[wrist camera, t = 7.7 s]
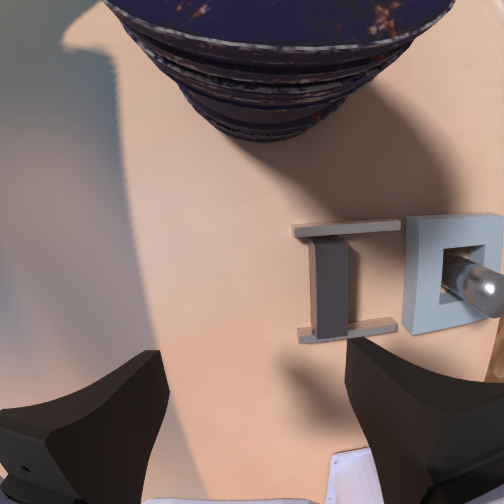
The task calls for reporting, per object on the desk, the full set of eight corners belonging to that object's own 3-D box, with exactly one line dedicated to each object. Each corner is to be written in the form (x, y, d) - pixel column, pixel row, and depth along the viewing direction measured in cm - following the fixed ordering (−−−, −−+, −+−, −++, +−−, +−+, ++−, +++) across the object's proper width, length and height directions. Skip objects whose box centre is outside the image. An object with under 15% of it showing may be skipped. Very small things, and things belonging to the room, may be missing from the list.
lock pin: (462, 279, 21) (513, 308, 15) (437, 290, 21) (485, 324, 15) (459, 248, 21) (513, 270, 14) (432, 258, 21) (484, 286, 15)
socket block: (480, 308, 22) (493, 316, 20) (401, 323, 22) (412, 335, 20) (488, 212, 20) (504, 215, 18) (405, 216, 20) (419, 219, 18)
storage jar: (155, 88, 19) (14, -25, 4) (248, -11, 17) (242, -175, 2) (276, 176, 20) (337, 168, 5) (366, 69, 18) (502, -47, 4)
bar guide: (389, 324, 22) (395, 331, 21) (297, 336, 22) (299, 344, 21) (393, 218, 20) (400, 220, 19) (291, 225, 20) (293, 227, 19)
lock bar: (338, 320, 22) (347, 335, 20) (310, 323, 22) (317, 339, 20) (338, 235, 21) (348, 242, 18) (308, 237, 21) (314, 245, 18)
